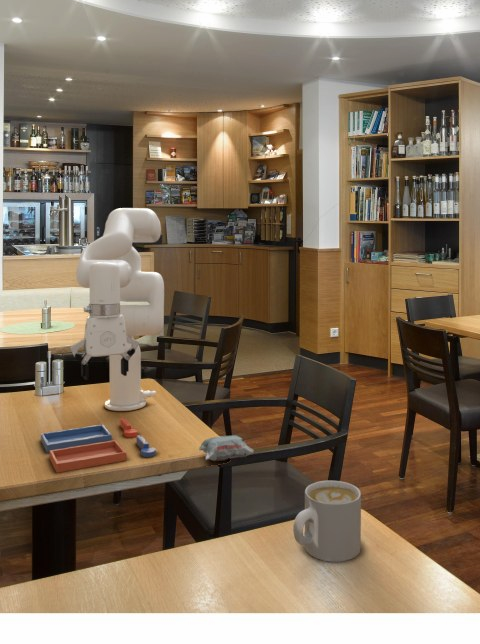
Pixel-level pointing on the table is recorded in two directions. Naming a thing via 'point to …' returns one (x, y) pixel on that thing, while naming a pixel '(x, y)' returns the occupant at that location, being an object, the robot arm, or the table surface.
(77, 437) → the blue tray
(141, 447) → the blue spoon
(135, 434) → the red spoon
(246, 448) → the packaged food
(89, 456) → the red tray
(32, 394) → the table surface
